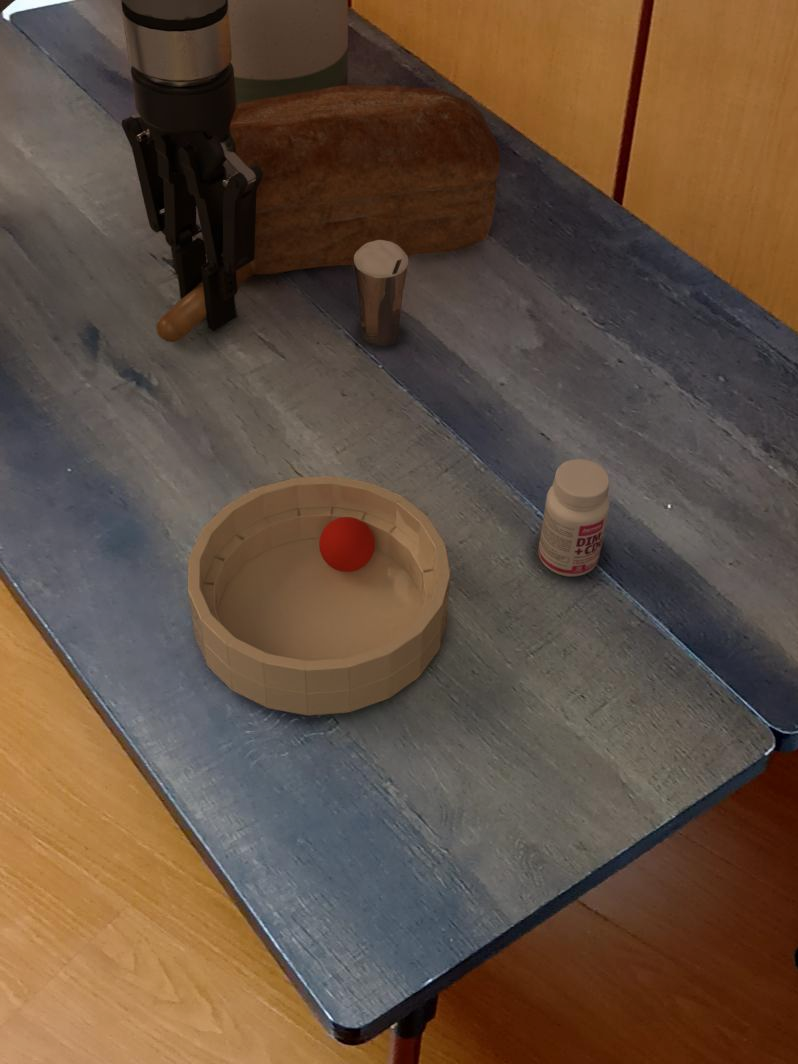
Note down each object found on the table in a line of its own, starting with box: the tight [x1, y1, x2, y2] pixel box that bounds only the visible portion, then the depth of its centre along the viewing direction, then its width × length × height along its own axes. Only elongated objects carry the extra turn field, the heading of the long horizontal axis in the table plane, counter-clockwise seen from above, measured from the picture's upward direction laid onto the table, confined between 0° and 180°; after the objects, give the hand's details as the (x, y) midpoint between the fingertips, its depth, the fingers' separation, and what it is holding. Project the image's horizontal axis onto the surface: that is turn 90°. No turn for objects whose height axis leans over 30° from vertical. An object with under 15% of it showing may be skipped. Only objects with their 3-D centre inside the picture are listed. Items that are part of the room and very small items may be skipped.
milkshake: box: [353, 240, 409, 347], centre depth 113 cm, size 4×5×10 cm
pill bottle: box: [537, 458, 611, 577], centre depth 98 cm, size 5×5×8 cm
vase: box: [228, 0, 349, 104], centre depth 131 cm, size 17×17×24 cm
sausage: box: [156, 257, 257, 343], centre depth 114 cm, size 11×2×2 cm
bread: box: [230, 84, 501, 276], centre depth 121 cm, size 12×28×14 cm, turn 110°
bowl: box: [187, 475, 451, 716], centre depth 93 cm, size 18×18×6 cm
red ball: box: [319, 517, 375, 572], centre depth 96 cm, size 4×4×4 cm
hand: (209, 314), depth 116 cm, fingers closed on sausage, 2 cm apart
